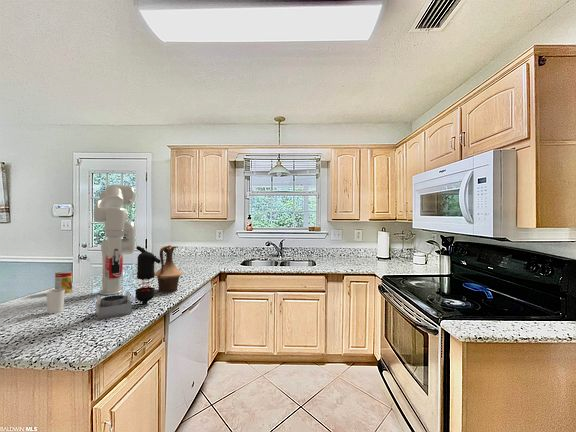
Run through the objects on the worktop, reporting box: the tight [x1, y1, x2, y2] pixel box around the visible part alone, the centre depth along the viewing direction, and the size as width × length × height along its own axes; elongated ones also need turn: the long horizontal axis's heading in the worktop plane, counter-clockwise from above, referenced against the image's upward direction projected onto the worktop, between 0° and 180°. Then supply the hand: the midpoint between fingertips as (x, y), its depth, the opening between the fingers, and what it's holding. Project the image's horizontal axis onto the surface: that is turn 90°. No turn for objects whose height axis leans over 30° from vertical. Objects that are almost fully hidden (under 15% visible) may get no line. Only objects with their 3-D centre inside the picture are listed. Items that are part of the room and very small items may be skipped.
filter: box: [135, 245, 161, 305], centre depth 149 cm, size 14×9×30 cm
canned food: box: [54, 270, 73, 295], centre depth 168 cm, size 8×8×12 cm
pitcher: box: [154, 244, 184, 293], centre depth 177 cm, size 18×17×28 cm
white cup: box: [46, 288, 65, 315], centre depth 134 cm, size 7×7×10 cm
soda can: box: [105, 254, 124, 280], centre depth 134 cm, size 7×7×12 cm
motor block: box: [94, 290, 133, 320], centre depth 134 cm, size 11×13×9 cm
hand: (113, 271), depth 134 cm, fingers closed on soda can, 7 cm apart
